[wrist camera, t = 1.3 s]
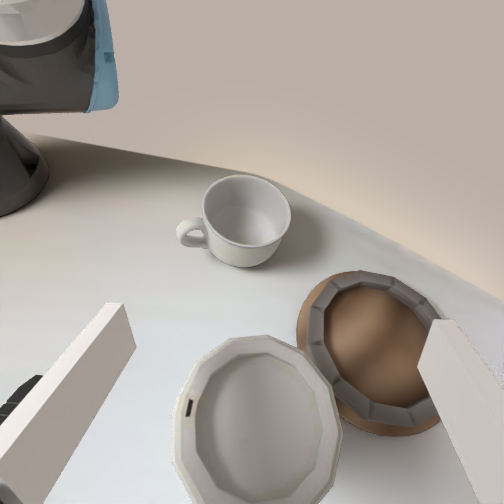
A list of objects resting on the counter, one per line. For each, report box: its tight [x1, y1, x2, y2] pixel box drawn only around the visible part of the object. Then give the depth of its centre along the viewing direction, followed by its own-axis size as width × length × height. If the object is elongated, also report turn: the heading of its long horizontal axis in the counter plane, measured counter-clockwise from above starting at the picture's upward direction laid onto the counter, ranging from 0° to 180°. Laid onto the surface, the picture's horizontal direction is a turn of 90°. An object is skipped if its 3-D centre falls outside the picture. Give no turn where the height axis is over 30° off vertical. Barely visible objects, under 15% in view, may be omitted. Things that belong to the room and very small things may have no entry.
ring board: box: [297, 270, 441, 436], centre depth 35 cm, size 19×19×2 cm
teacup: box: [176, 174, 291, 267], centre depth 37 cm, size 14×11×8 cm
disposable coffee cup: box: [171, 335, 343, 504], centre depth 23 cm, size 11×11×15 cm
